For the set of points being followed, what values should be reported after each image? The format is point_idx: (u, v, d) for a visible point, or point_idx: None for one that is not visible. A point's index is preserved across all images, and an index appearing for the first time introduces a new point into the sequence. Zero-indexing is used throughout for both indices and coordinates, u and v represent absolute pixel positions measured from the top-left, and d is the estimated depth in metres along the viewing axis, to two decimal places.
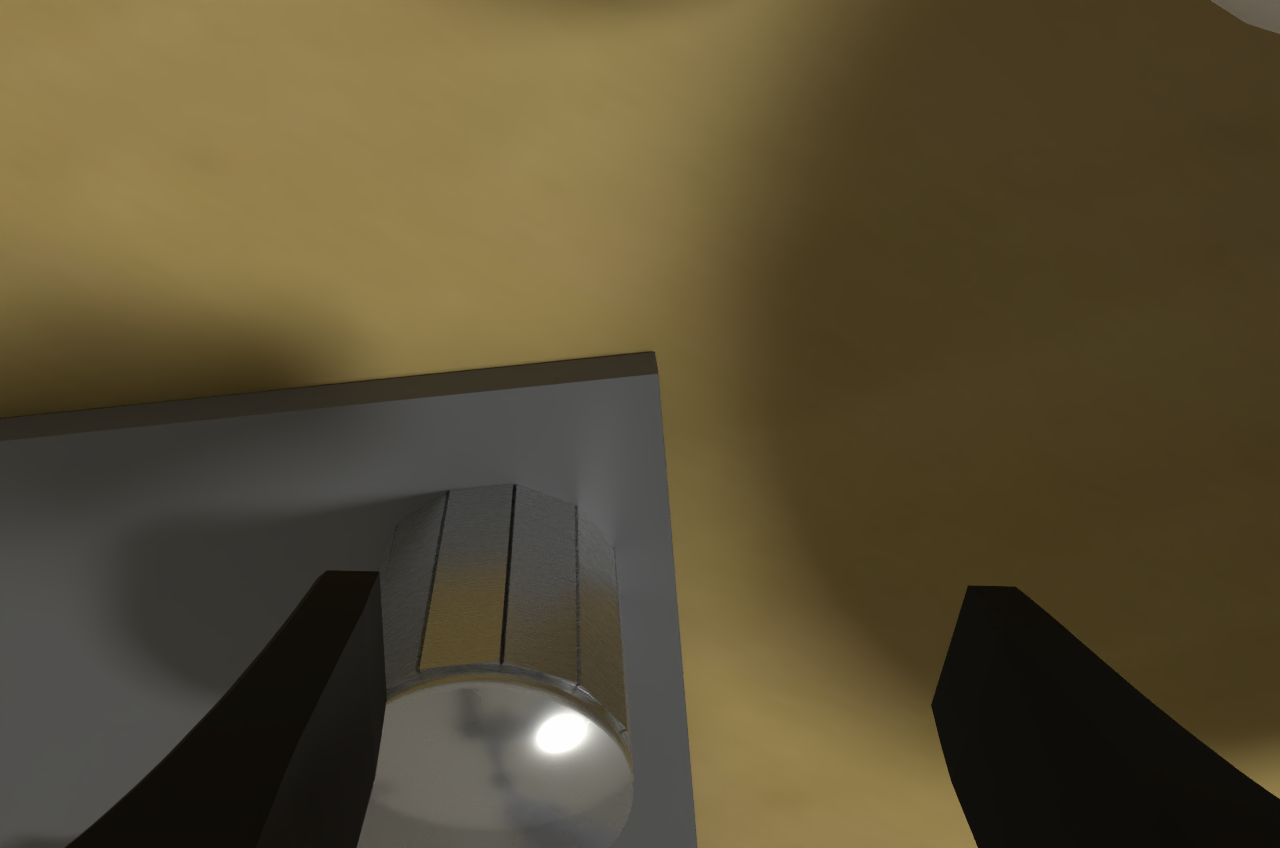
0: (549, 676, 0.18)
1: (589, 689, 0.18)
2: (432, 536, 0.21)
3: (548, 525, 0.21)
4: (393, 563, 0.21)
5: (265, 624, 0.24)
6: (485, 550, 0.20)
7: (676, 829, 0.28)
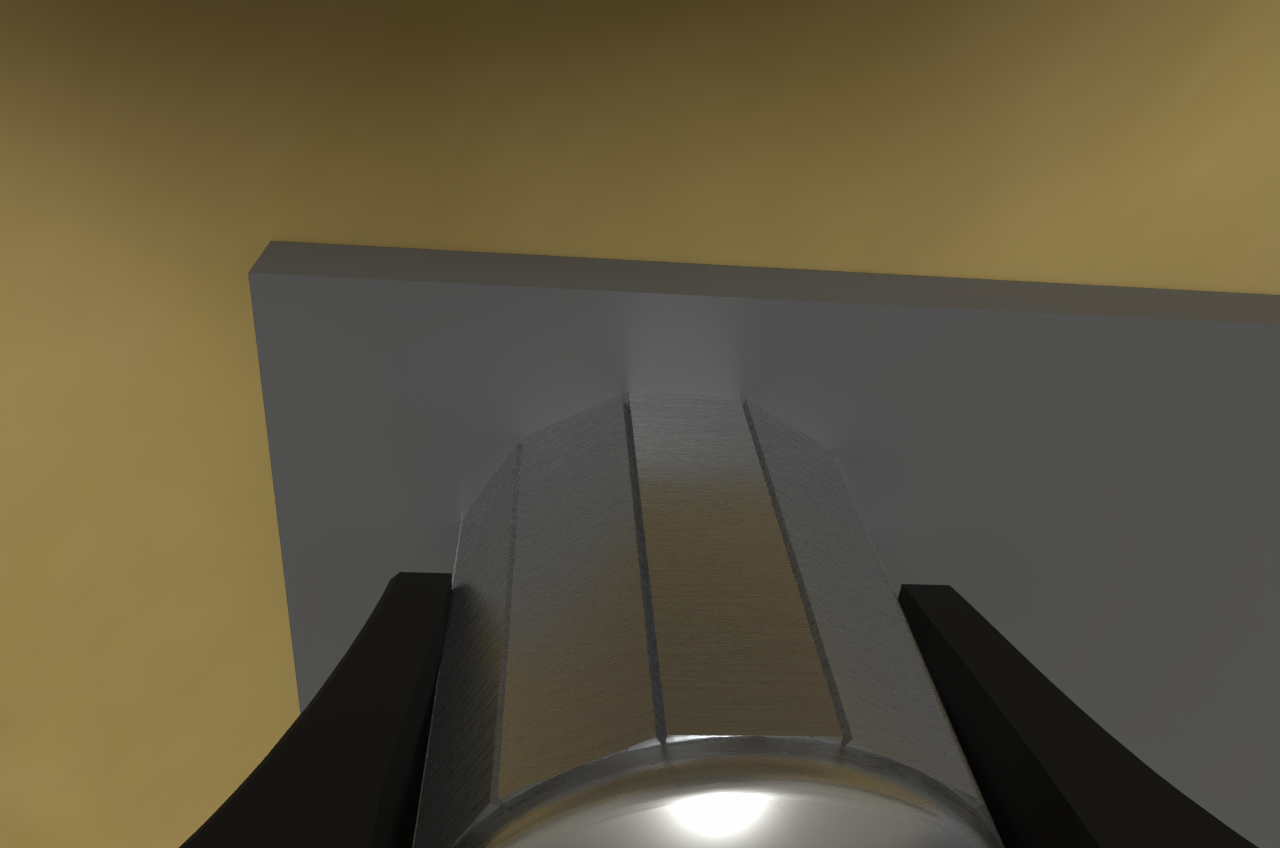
0: (459, 842, 0.08)
1: (524, 781, 0.08)
2: None
3: (486, 529, 0.12)
4: None
5: None
6: None
7: None
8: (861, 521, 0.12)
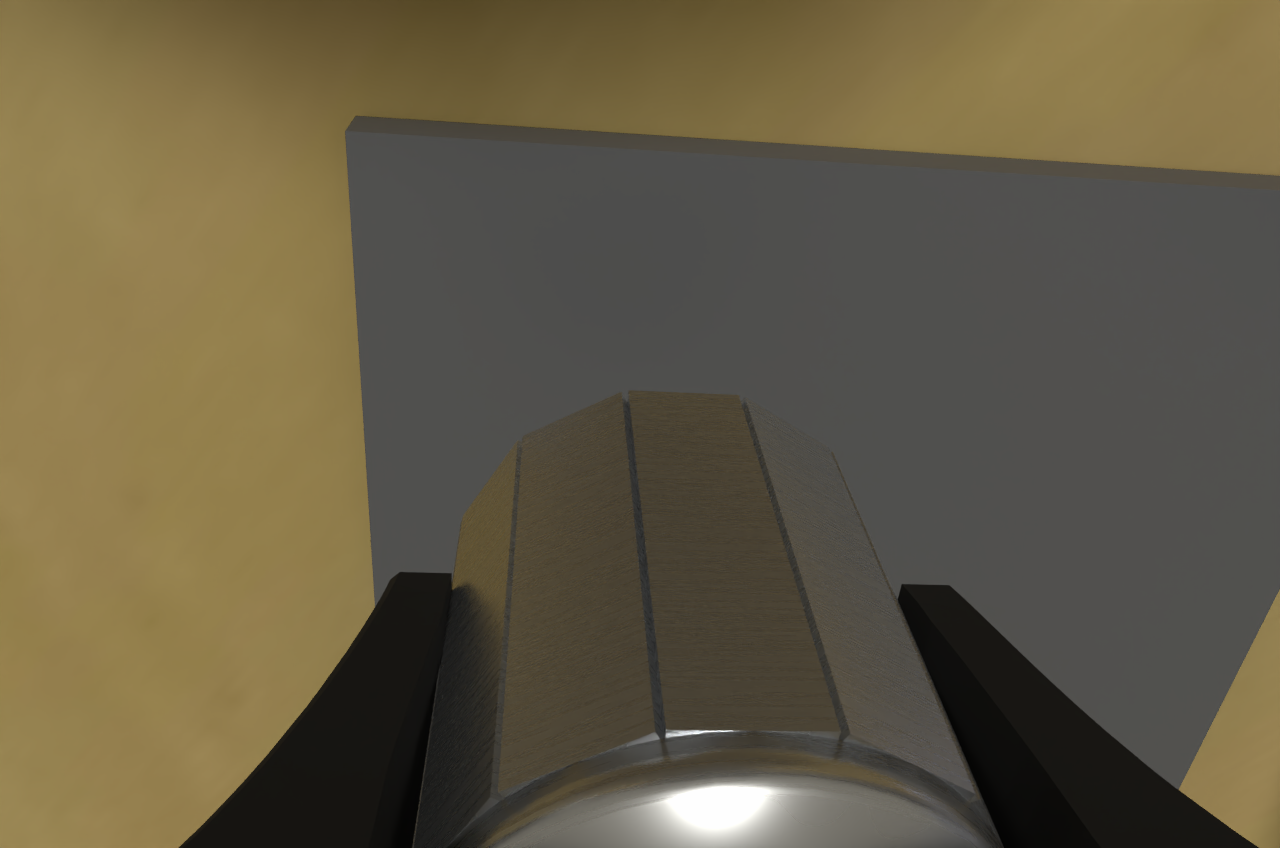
0: (461, 836, 0.08)
1: (525, 775, 0.08)
2: None
3: (486, 527, 0.12)
4: None
5: None
6: None
7: (1164, 212, 0.18)
8: (859, 519, 0.12)
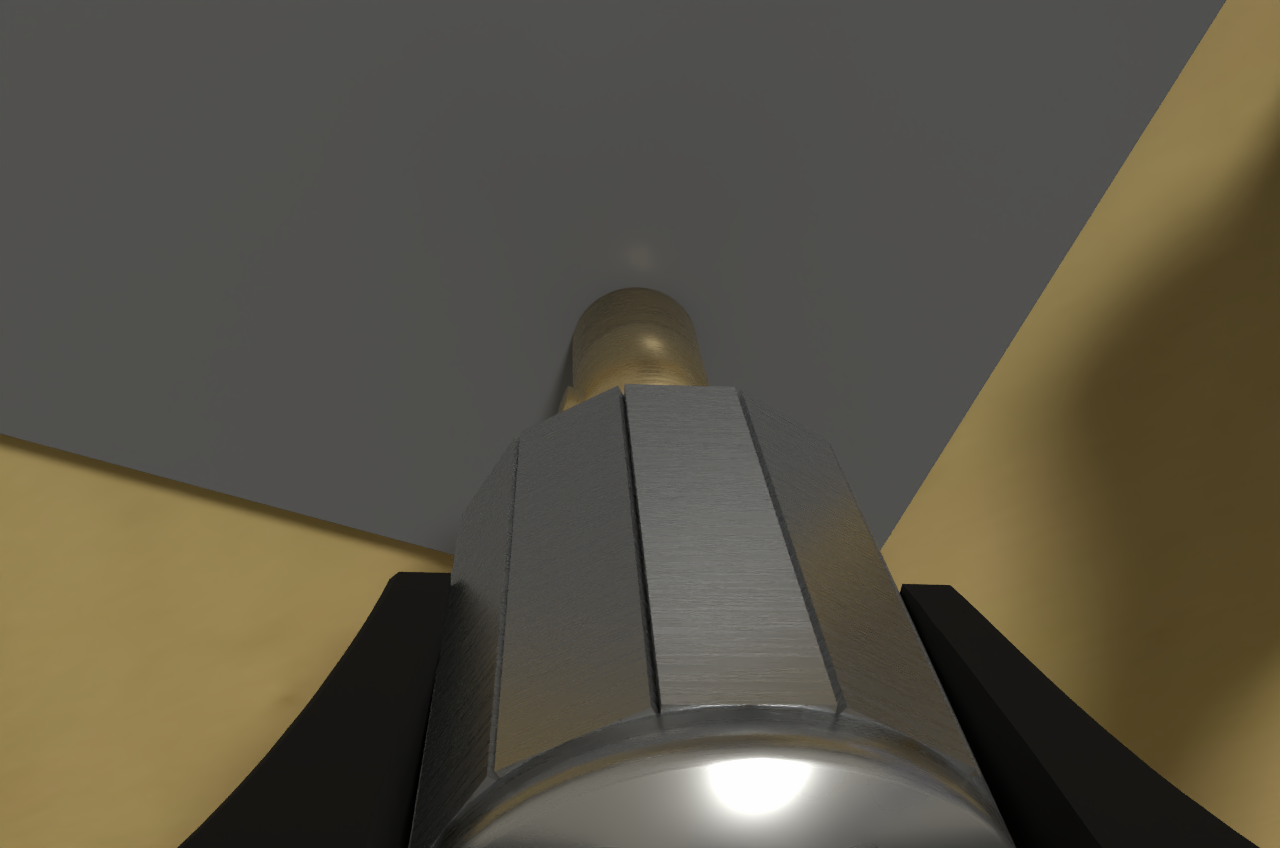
0: (457, 818, 0.08)
1: (520, 754, 0.08)
2: None
3: (485, 521, 0.12)
4: None
5: None
6: None
7: None
8: (857, 507, 0.12)
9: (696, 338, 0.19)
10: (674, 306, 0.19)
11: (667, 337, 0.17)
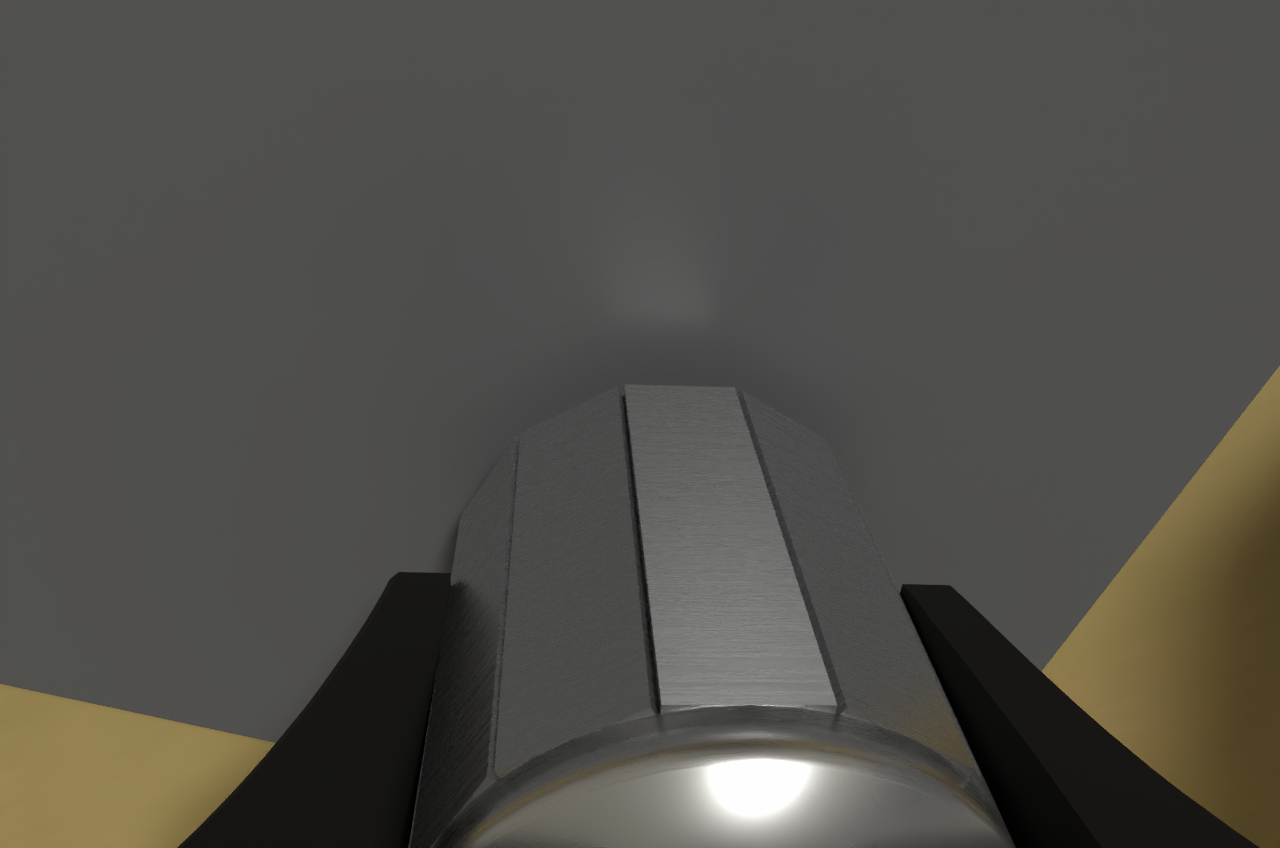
0: (457, 818, 0.08)
1: (520, 754, 0.08)
2: None
3: (485, 521, 0.12)
4: None
5: (168, 11, 0.11)
6: None
7: None
8: (857, 507, 0.12)
9: None
10: None
11: None
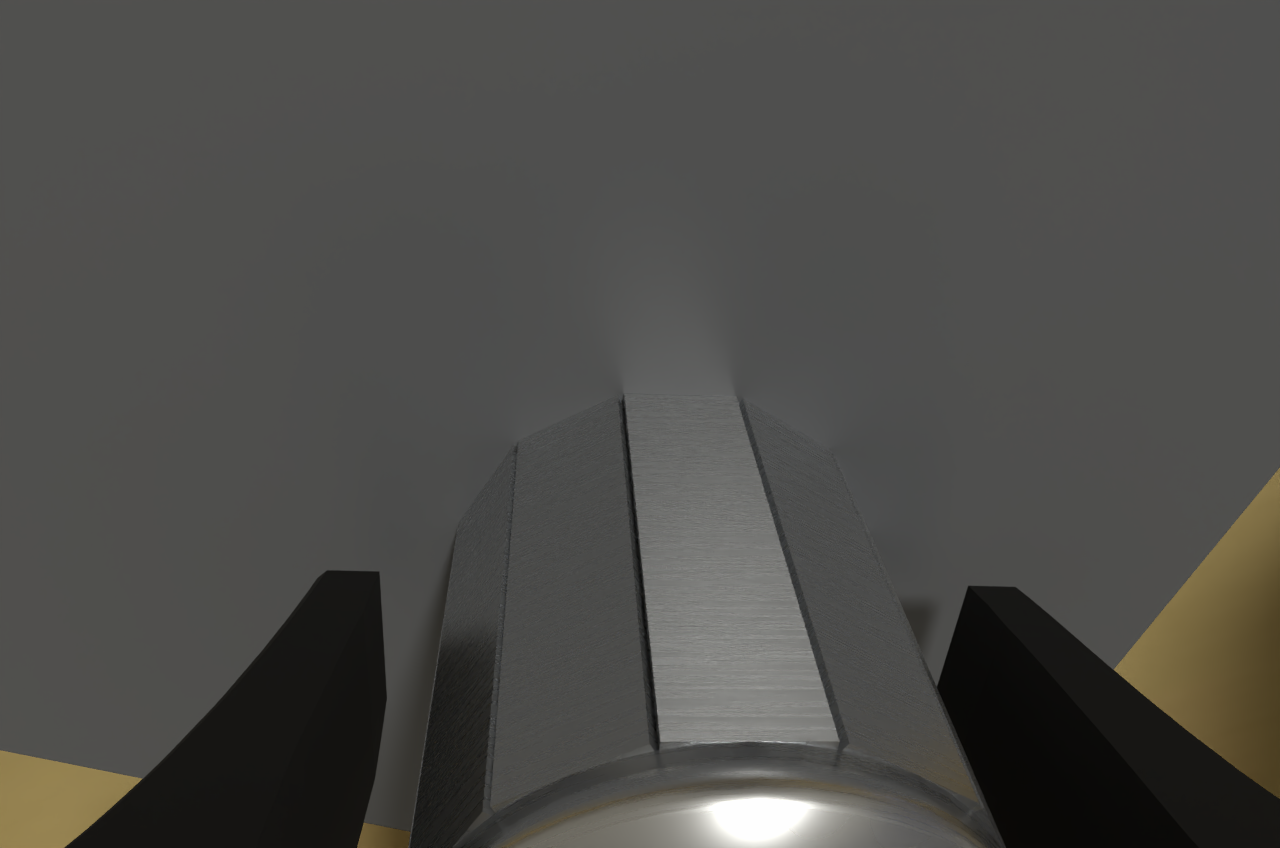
0: None
1: (517, 790, 0.08)
2: None
3: (482, 533, 0.12)
4: None
5: (127, 31, 0.10)
6: None
7: None
8: (860, 521, 0.12)
9: None
10: None
11: None
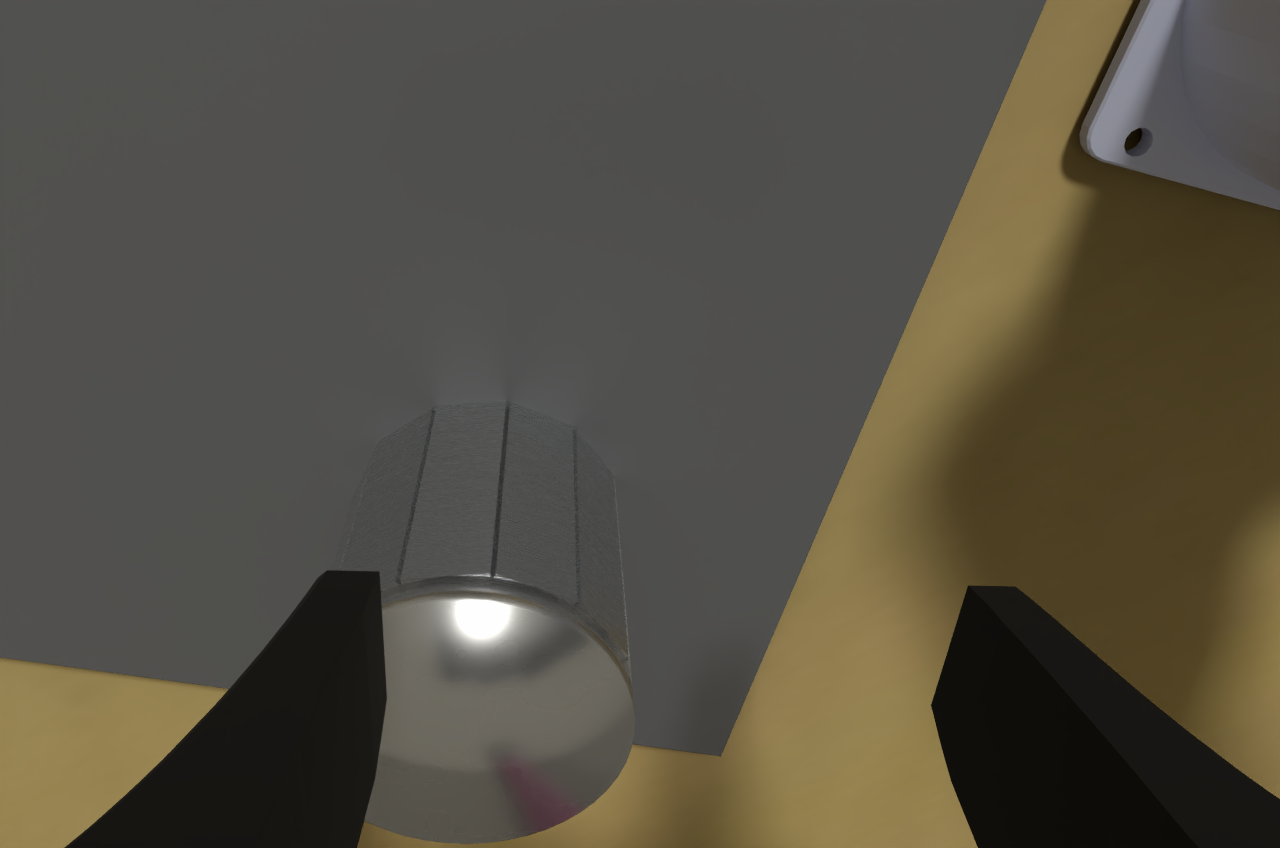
0: None
1: None
2: None
3: (356, 498, 0.20)
4: None
5: (116, 238, 0.18)
6: None
7: None
8: (575, 468, 0.19)
9: None
10: None
11: None
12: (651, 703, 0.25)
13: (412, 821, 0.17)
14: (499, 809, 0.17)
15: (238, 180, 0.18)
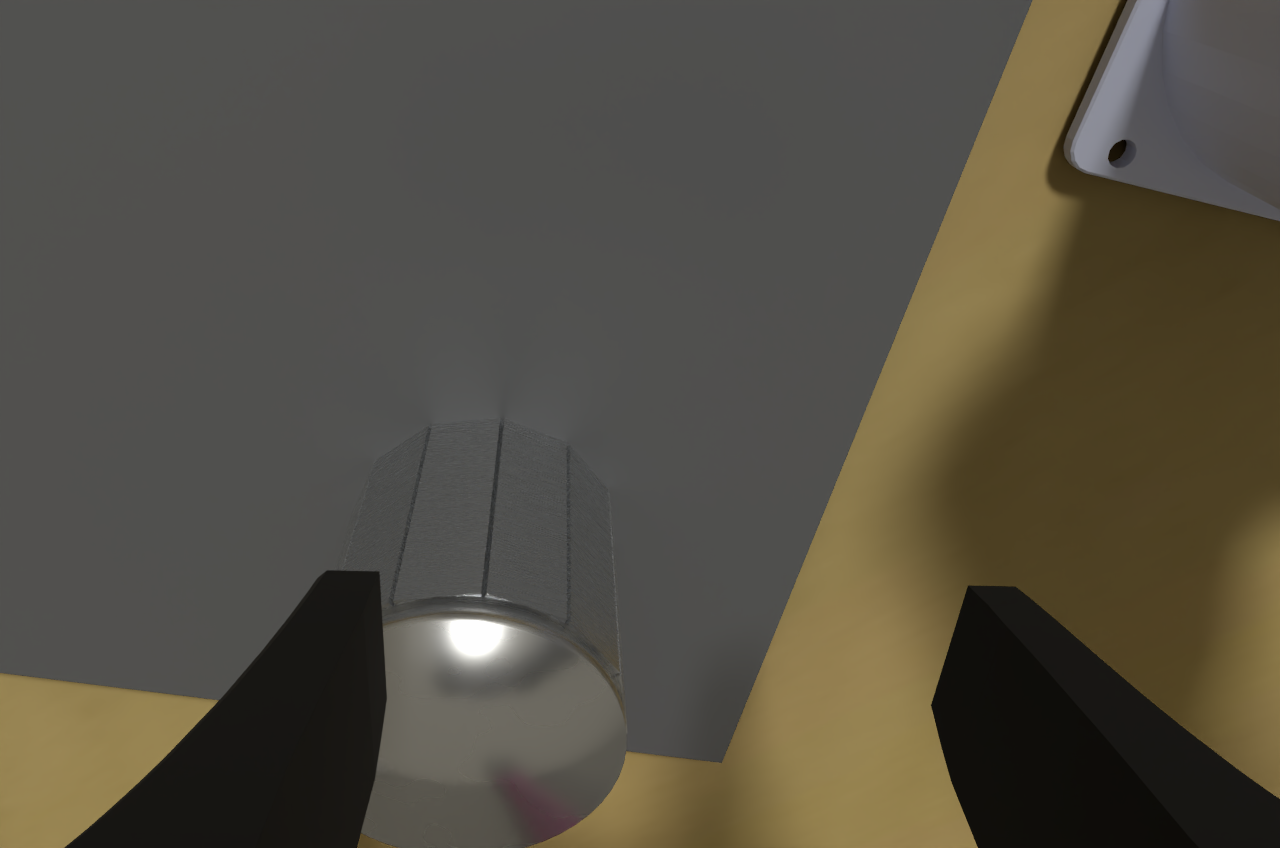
0: None
1: None
2: None
3: (354, 516, 0.20)
4: None
5: (115, 267, 0.18)
6: None
7: None
8: (568, 484, 0.20)
9: None
10: None
11: None
12: (651, 711, 0.25)
13: (411, 835, 0.18)
14: (496, 822, 0.18)
15: (231, 209, 0.18)
